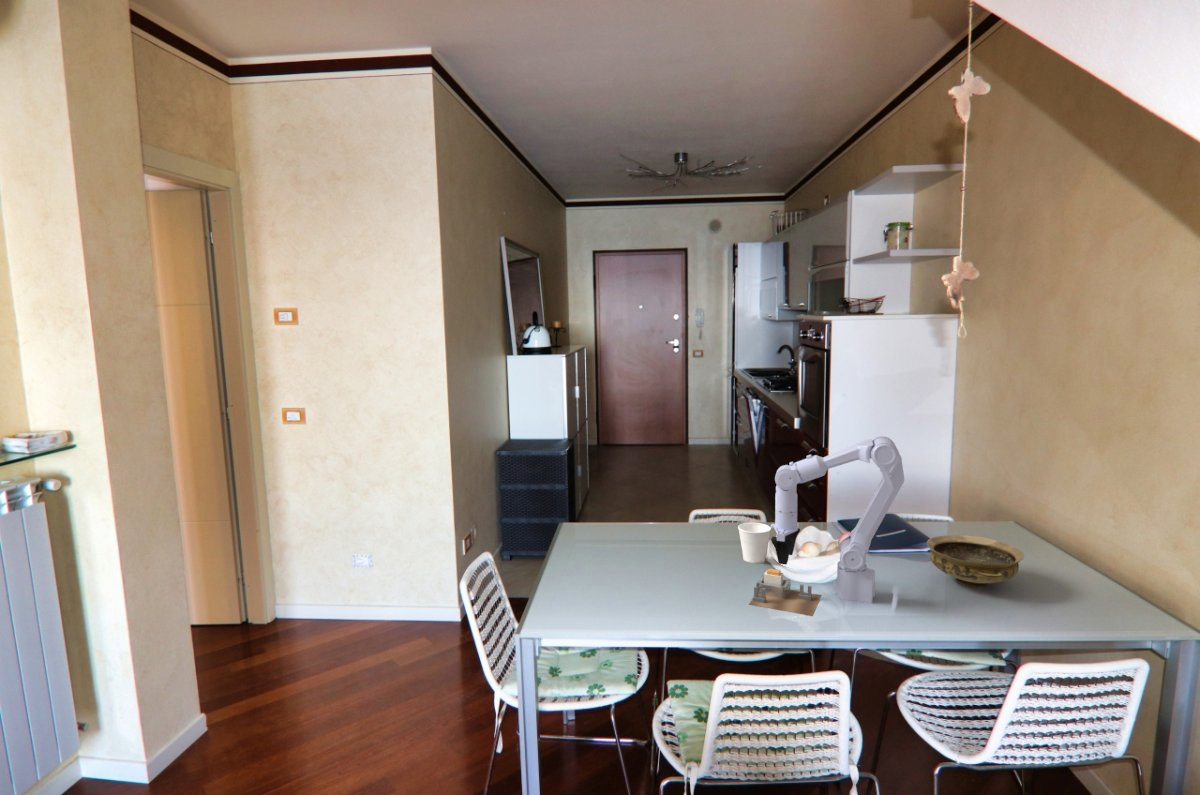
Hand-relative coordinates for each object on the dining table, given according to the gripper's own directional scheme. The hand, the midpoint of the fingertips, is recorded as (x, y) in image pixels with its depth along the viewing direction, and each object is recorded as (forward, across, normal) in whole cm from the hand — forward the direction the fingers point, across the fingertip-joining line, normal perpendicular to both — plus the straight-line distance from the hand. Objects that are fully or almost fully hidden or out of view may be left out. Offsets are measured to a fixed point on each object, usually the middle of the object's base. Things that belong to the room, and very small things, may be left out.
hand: (785, 559), depth 188 cm
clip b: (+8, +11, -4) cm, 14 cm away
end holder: (+8, +4, -2) cm, 10 cm away
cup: (+9, -19, -13) cm, 25 cm away
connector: (+8, +4, -2) cm, 9 cm away
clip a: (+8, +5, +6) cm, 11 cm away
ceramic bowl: (+10, -28, +46) cm, 55 cm away
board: (+9, +8, +2) cm, 12 cm away
